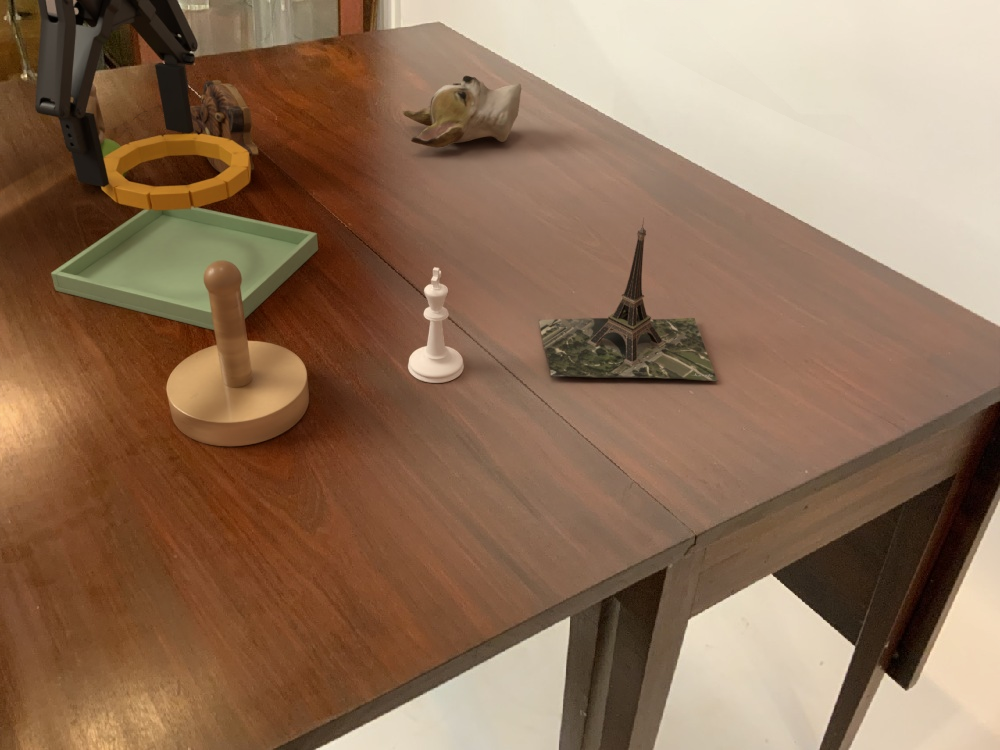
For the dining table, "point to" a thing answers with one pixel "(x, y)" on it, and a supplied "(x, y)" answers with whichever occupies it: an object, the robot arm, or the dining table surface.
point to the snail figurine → (100, 125)
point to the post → (236, 377)
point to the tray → (184, 262)
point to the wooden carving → (223, 118)
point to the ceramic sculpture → (467, 113)
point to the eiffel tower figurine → (627, 340)
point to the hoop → (184, 194)
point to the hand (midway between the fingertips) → (139, 155)
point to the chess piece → (435, 341)
